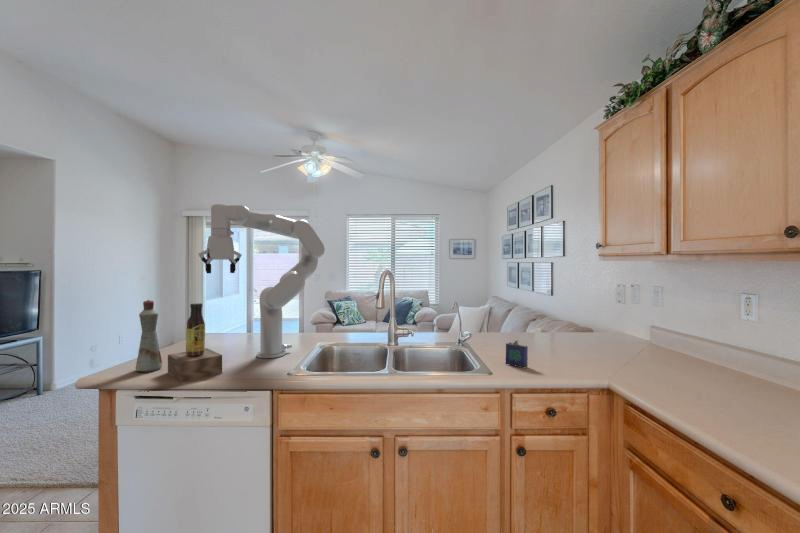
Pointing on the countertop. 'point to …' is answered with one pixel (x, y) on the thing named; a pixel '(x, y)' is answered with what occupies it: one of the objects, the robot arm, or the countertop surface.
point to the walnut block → (194, 365)
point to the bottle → (148, 340)
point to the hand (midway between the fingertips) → (220, 273)
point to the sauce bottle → (195, 331)
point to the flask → (516, 354)
